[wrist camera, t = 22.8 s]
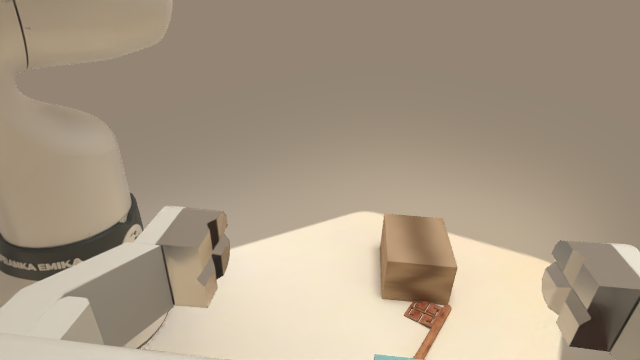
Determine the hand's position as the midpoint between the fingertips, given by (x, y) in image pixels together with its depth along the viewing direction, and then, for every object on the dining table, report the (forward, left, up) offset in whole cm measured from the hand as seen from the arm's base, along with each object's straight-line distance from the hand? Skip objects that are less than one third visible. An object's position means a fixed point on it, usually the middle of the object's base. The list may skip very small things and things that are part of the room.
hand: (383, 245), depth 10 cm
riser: (+8, +33, -30) cm, 45 cm away
